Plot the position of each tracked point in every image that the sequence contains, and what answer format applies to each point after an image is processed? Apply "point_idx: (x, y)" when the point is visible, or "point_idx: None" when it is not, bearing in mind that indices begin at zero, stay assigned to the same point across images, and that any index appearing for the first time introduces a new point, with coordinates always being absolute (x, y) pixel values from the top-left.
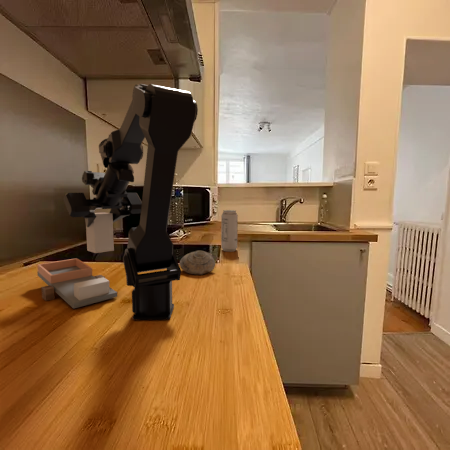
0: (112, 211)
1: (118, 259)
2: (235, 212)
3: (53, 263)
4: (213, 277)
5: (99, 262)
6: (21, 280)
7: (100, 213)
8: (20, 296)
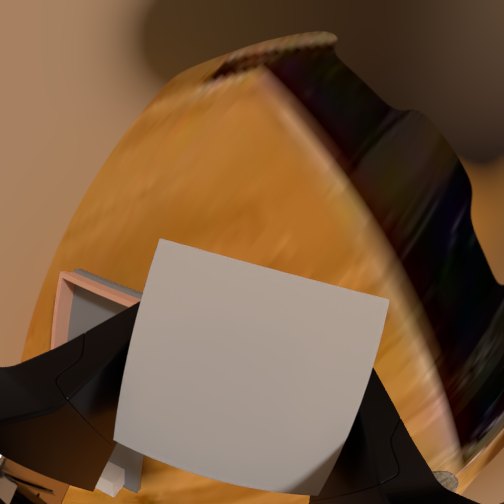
0: (353, 481)
1: (406, 223)
2: None
3: (89, 289)
4: None
5: (348, 200)
6: (114, 190)
7: (236, 421)
8: (54, 304)
